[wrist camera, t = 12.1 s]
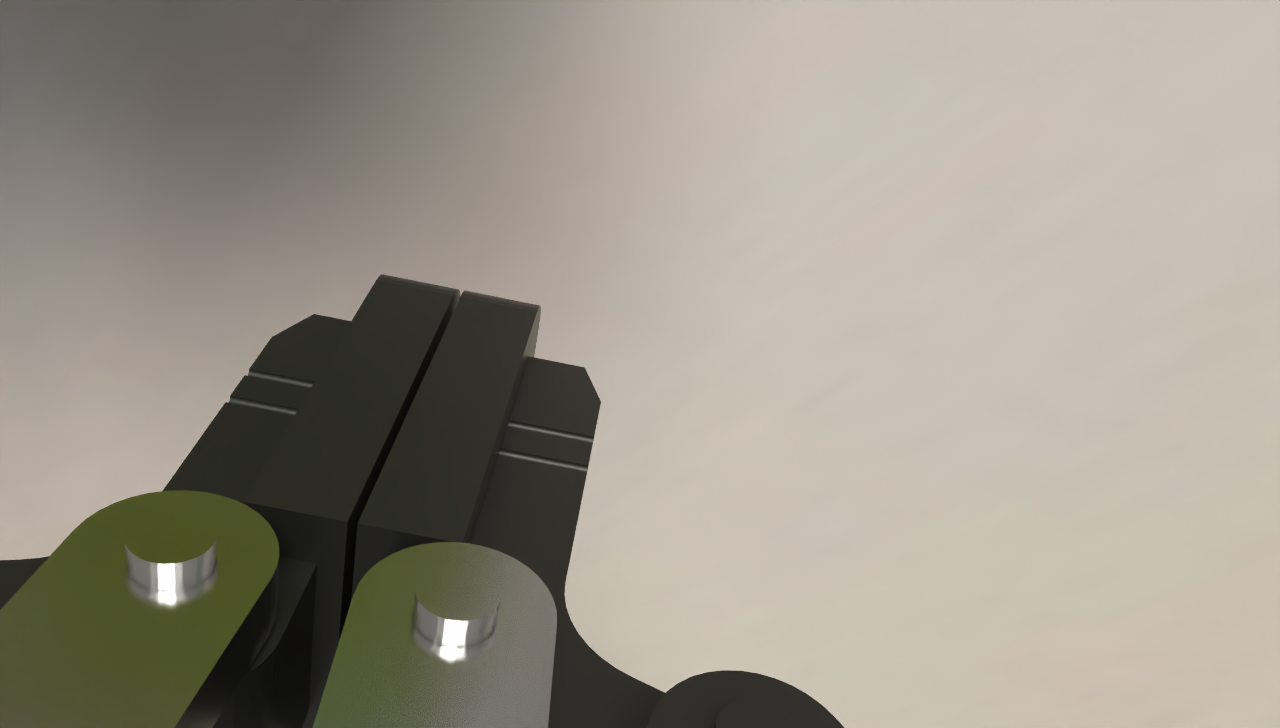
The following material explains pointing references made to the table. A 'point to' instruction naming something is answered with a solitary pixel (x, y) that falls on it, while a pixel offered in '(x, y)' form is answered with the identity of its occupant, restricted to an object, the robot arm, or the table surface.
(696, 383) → the table surface
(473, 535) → the robot arm
